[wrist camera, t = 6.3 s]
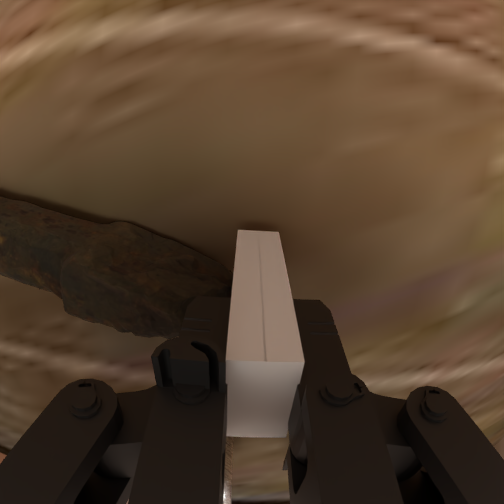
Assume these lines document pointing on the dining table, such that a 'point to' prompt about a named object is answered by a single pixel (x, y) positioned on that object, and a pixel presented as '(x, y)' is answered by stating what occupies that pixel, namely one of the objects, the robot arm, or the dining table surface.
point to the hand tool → (107, 269)
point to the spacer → (228, 470)
